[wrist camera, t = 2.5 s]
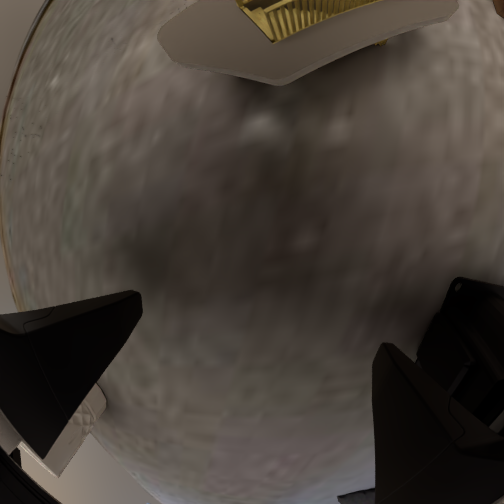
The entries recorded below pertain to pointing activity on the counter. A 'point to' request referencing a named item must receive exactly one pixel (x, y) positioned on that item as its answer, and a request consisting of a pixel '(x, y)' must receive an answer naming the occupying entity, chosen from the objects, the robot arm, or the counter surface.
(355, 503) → the dark slate chunk
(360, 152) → the counter surface
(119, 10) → the counter surface
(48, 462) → the white cup
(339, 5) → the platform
